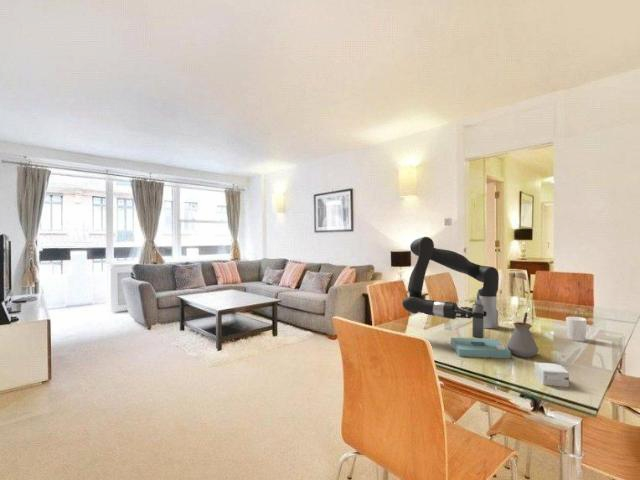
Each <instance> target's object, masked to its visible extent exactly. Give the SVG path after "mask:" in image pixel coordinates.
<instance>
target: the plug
mask: <svg viewBox="0 0 640 480" xmlns="http://www.w3.org/2000/svg"><path fill="white" fill-rule="evenodd" d="M472 308H473V312H476V313H483V314H484V305H482V300H481V299H479V293H478V292H476V298H474V303H473V304H472ZM471 326H472V329H471V332H472V338H477V339H485V338H484V337H485V336H484V329H485V328H484V318H483V319H481V318H472V325H471Z"/></svg>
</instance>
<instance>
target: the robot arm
mask: <svg viewBox="0 0 640 480" xmlns="http://www.w3.org/2000/svg"><path fill="white" fill-rule="evenodd" d="M409 248H410V250H411V252H412V253H413V254H414V255H415V256H416V257H417V261H416V263H415V265H414V267H413V269H412V272H411V273H410V277H409V279H408V280H409V281H408V285H407V291H408V293H409V294H408V295H409V296H406V297H404V299H403V300H402V307H403V308H404V310H406V311H407V312H410V313H411V314H417V313H421V314H425V315H426V316H427V315H428V316H434V317H439V318H443V319H444V318H445V319H451V320H455V319H457V318H459V319H460V318H461V319H469V320H470V319H473V318H481V319H483V318H484V329H499V310H498V307H497V302H498V301H497V299H498V298H497V293H498V292H499V282H500V281H499V279H500V277H499V272H498V269H497V268H496V267H494V266H488V265H482V264H477V263H474V262H472V261H470V260H469V259H468V258H467V257H466V256H464V255H463V254H460V253H458V252H456V251H454V250H453V251H452V250H449V249H443V248H437V247H435V243H434V241H433V239H432V238H431V237H428V236H422V237H419V238H417V239H414V240H413V241H412V242H411V244H410V247H409ZM430 261H433V262H434V263H437V264H439V265H441V266H444V267H446V268H448V269H450V270H453V271H456V272H458V273H461V274H465V275H467V276H469V277H471V278H473V279H474V280H477V281H478V282H480V283H482V284H483V285H482V287H481V288H480V289H478V290H477V293H479V299H481V300H482V305H484V314H483V313H476V312H473V307H469V306H460V307H459V306H458V303H456V302H454V301H453V302H452V301H443V300H432V299H424V298H423V295H422V294H423V293H422V292H423V287H424V283H425V282H424V281H425V276H426V272H427V269H428V266H429V264H430Z"/></svg>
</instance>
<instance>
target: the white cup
mask: <svg viewBox="0 0 640 480" xmlns="http://www.w3.org/2000/svg"><path fill="white" fill-rule="evenodd" d="M587 321H588V320H587V319H586V318H584V317H579V316H567V317H565V323H566V324H565V325H566V326H565V327H566V334H567V339H568V340H570V341H575V342H585V341H586V335H587V324H588V323H587Z"/></svg>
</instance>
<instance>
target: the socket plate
mask: <svg viewBox="0 0 640 480" xmlns="http://www.w3.org/2000/svg"><path fill="white" fill-rule="evenodd" d="M450 344H451V346H452V347H453V350H454V351H455V352H456V354H457V356H459V357H465V356H466V357H470V358H471V357H472V358H474V357H475V358H489V357H491V358H492V359H511V353H512V352H511V351H510V350H509V349H508V348H507V346H505V345H504V344H503V343H502V342H501V341H500V340H498V338H474V337H471V338H469V337H450ZM491 358H490V359H491Z"/></svg>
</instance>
